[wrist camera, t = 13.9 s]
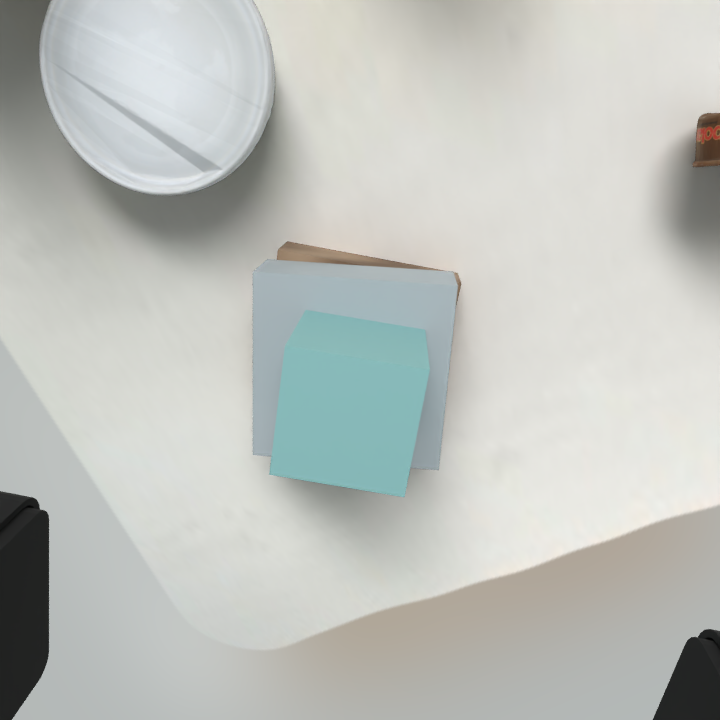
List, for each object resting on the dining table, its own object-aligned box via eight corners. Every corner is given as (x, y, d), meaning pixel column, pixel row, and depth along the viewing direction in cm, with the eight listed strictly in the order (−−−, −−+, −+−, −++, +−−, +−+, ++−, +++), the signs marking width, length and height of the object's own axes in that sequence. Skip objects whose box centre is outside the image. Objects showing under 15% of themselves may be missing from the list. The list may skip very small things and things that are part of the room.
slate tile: (453, 271, 35) (457, 285, 31) (436, 441, 38) (438, 469, 35) (267, 259, 35) (252, 271, 32) (266, 427, 38) (252, 454, 35)
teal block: (425, 329, 32) (429, 369, 27) (404, 438, 34) (404, 497, 28) (305, 309, 32) (284, 345, 27) (291, 419, 34) (269, 474, 29)
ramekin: (101, 187, 37) (54, 195, 33) (75, -35, 34) (17, -64, 29) (293, 189, 37) (275, 198, 32) (288, -37, 33) (266, -68, 28)
